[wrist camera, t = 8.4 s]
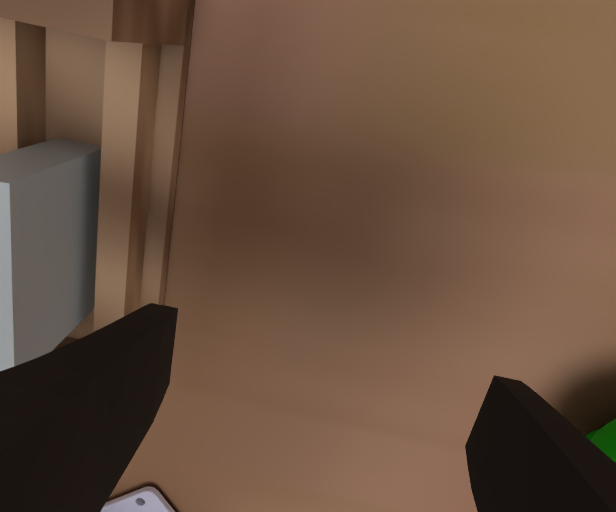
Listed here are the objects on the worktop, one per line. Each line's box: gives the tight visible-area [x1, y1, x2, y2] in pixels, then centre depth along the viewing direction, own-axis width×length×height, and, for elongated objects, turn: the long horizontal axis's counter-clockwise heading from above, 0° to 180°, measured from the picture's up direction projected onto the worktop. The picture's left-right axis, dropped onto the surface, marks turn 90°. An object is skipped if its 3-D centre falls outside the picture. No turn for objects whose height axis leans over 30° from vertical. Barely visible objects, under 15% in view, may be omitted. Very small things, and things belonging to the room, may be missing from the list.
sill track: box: [0, 0, 195, 351], centre depth 18 cm, size 16×7×7 cm, turn 169°
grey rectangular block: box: [0, 137, 101, 371], centre depth 18 cm, size 7×2×6 cm, turn 169°
